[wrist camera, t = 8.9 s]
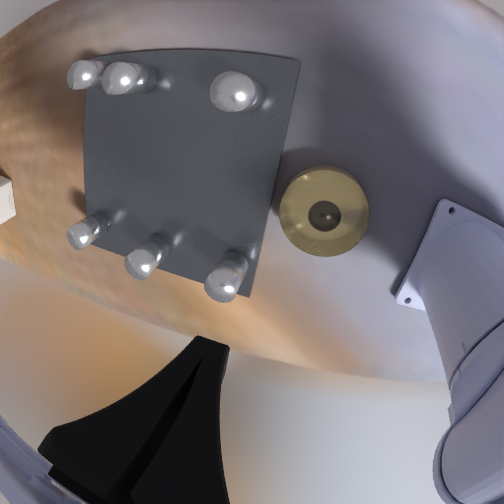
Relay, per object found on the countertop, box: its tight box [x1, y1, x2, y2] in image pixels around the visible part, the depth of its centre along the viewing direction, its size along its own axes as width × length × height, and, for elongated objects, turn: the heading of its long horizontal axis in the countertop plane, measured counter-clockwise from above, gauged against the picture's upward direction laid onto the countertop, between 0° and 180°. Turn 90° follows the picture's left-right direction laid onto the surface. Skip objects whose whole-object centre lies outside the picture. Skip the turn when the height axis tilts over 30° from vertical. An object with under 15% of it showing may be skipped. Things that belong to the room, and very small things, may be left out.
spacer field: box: [67, 50, 301, 303], centre depth 16 cm, size 15×16×4 cm
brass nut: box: [279, 165, 370, 257], centre depth 16 cm, size 5×5×2 cm
